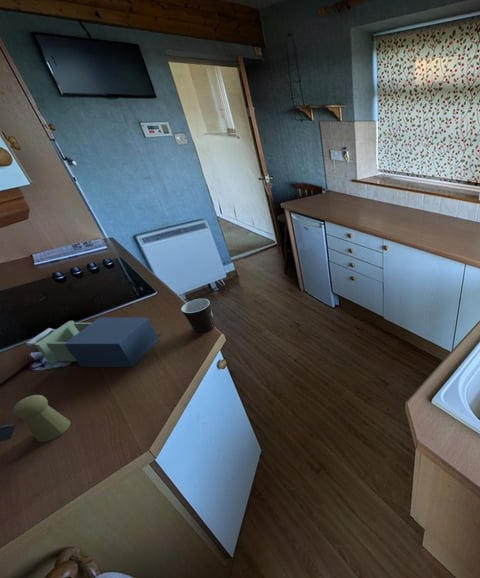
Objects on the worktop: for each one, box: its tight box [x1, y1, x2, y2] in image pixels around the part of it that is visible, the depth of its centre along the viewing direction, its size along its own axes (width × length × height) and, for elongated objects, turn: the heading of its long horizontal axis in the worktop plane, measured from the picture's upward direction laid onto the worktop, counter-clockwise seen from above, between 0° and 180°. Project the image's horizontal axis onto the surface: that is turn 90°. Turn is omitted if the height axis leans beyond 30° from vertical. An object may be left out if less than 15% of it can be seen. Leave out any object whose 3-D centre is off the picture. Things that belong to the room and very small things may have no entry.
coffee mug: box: [181, 298, 215, 335], centre depth 105 cm, size 12×9×10 cm
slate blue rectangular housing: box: [65, 316, 160, 368], centre depth 92 cm, size 16×13×10 cm
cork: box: [12, 394, 72, 443], centre depth 69 cm, size 6×6×11 cm
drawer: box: [25, 320, 92, 365], centre depth 92 cm, size 20×11×8 cm, turn 91°
